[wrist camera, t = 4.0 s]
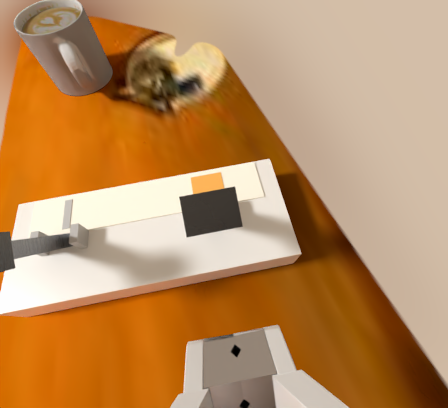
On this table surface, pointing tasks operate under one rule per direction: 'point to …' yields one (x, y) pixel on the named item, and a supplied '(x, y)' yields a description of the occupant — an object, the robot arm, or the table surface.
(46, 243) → the unmarked lever
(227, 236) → the switch console
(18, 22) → the coffee mug
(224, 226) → the marked lever
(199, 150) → the table surface
